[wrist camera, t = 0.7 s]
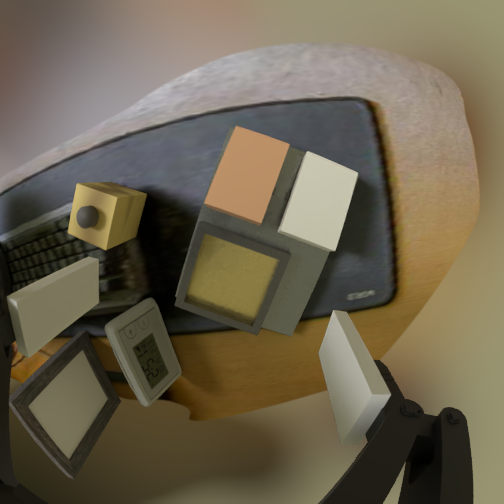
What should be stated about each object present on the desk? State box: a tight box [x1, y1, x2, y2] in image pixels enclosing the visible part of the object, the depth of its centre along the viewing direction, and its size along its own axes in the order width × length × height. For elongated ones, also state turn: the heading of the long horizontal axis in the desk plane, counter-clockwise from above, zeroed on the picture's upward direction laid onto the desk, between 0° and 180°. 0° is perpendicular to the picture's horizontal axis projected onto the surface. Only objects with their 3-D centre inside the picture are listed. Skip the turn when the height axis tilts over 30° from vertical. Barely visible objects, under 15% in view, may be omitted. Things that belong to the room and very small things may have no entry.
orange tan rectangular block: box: [204, 126, 290, 226], centre depth 28 cm, size 6×9×2 cm, turn 160°
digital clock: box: [105, 298, 182, 407], centre depth 34 cm, size 14×8×9 cm, turn 0°
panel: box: [175, 127, 359, 336], centre depth 33 cm, size 16×22×4 cm
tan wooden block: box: [68, 182, 147, 250], centre depth 30 cm, size 6×6×9 cm
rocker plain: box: [278, 151, 358, 251], centre depth 29 cm, size 6×9×2 cm, turn 160°
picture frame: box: [9, 330, 121, 479], centre depth 31 cm, size 16×2×21 cm, turn 10°
